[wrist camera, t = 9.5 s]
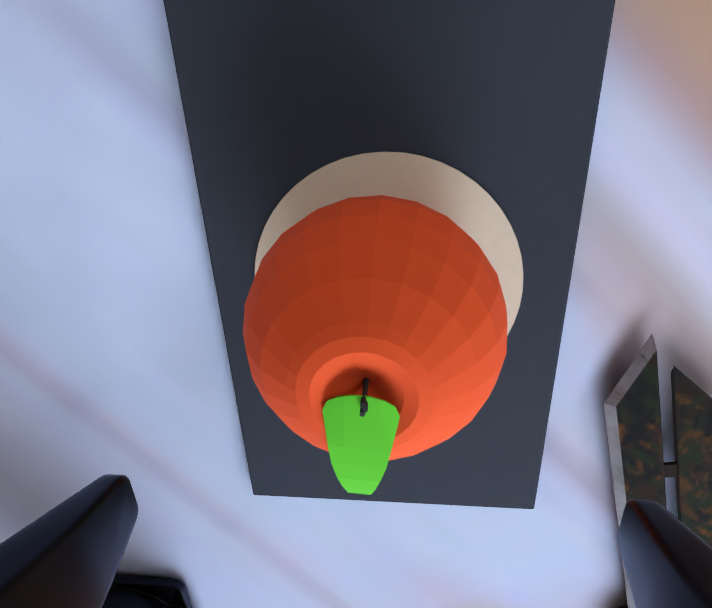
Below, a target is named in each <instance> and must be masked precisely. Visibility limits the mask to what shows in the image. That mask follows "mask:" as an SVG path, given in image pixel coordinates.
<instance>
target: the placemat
mask: <svg viewBox="0 0 712 608" xmlns="http://www.w3.org/2000/svg"><path fill="white" fill-rule="evenodd" d="M614 4H615V0H164V5H165V11H166V16H167V22H168V27H169V33H170V38H171V44H172V49H173V55H174V60H175V66H176V71H177V77H178V82H179V88H180V93H181V99H182V104H183V110H184V115H185V121H186V126H187V132H188V137H189V143H190V148H191V154H192V159H193V165H194V170H195V176H196V181H197V187H198V192H199V198H200V203H201V209H202V214H203V220H204V225H205V231H206V236H207V242H208V247H209V253H210V258H211V264H212V269H213V275H214V280H215V286H216V291H217V297H218V302H219V308H220V313H221V319H222V324H223V330H224V335H225V341H226V346H227V352H228V357H229V363H230V368H231V373H232V379H233V384H234V390H235V395H236V401H237V406H238V412H239V417H240V423H241V428H242V434H243V439H244V445H245V450H246V456H247V461H248V467H249V472H250V478H251V483H252V489H253V494H254V495H269V496H288V497H307V498H327V499H346V500H366V501H385V502H404V503H424V504H443V505H463V506H482V507H501V508H521V509H534V505H535V498H536V492H537V486H538V480H539V473H540V467H541V461H542V455H543V448H544V442H545V436H546V430H547V423H548V417H549V411H550V405H551V398H552V392H553V386H554V380H555V373H556V367H557V361H558V355H559V348H560V342H561V336H562V330H563V323H564V317H565V311H566V305H567V298H568V292H569V286H570V280H571V273H572V267H573V261H574V255H575V248H576V242H577V236H578V230H579V223H580V217H581V211H582V205H583V198H584V192H585V186H586V180H587V173H588V167H589V161H590V155H591V148H592V142H593V136H594V130H595V123H596V117H597V111H598V105H599V98H600V92H601V86H602V80H603V73H604V67H605V61H606V55H607V48H608V42H609V36H610V29H611V23H612V17H613V11H614ZM377 195H385V196H390V197H396V198H401V199H406V200H412V201H417V202H419V203H421V204H423V205H425V206H427V207H429V208H431V209H433V210H435V211H437V212H440V213H442V214H444V215H446V216H447V217H449V218H450V219H451V220H452V221H453V222H454V223H455V224H457V225H458V226H459V227H460V228H461V229H462V230H463V231H465V232H466V233H467V234H468V235H469V236H470V237H471V238H472V239H473V240H474V241H475V242H476V243H477V244H478V245H479V246H480V248H481V249H482V251H483V253H484V254H485V256H486V257H487V259H488V260H489V262H490V264H491V265H492V267H493V268H494V270H495V271H496V273H497V274H498V278H499V282H500V285H501V289H502V292H503V296H504V300H505V303H506V309H507V322H508V324H507V352H506V357H505V359H504V362H503V365H502V368H501V371H500V373H499V376H498V379H497V382H496V384H495V386H494V388H493V390H492V392H491V394H490V396H489V397H488V399H487V400H486V402H485V403H484V405H483V406H482V407H481V409H480V410H479V411H478V413H477V414H476V415H475V417H474V418H473V420H472V421H471V422H470V423H468V424H467V425H466V426H464V427H463V428H462V429H461V430H459V431H458V432H457V433H456V434H454V435H453V436H452V437H451V438H449V439H448V440H446V441H444V442H442V443H440V444H438V445H435V446H433V447H431V448H429V449H427V450H424V451H422V452H420V453H418V454H416V455H413V456H409V457H404V458H399V459H394V460H390V461H388V464H387V468H386V470H385V472H384V475H383V477H382V479H381V481H380V483H379V484H378V486H377V488H376V489H375V491H374V492H373V493H372V494H371V495H368V494H358V493H348V492H347V491H346V490H345V489H344V488H343V486H342V485H341V483H340V482H339V480H338V478H337V476H336V474H335V471H334V469H333V466H332V464H331V459H330V454H329V452H327V451H325V450H323V449H320V448H318V447H315V446H313V445H312V444H310V443H309V442H307V441H306V440H305V439H303V438H302V437H300V436H299V435H297V434H296V433H294V432H293V431H292V430H291V429H290V428H289V427H288V426H287V425H286V424H285V423H284V422H283V421H282V420H281V419H280V418H279V417H278V416H277V414H276V413H275V412H274V411H273V410H272V409H271V408H270V407H269V406H268V405H267V404H266V402H265V401H264V399H263V397H262V395H261V393H260V391H259V390H258V388H257V386H256V384H255V382H254V380H253V378H252V375H251V370H250V366H249V361H248V357H247V353H246V348H245V342H244V337H243V324H244V309H245V302H246V299H247V296H248V294H249V291H250V289H251V286H252V283H253V281H254V278H255V276H256V273H257V270H258V268H259V265H260V263H261V260H262V258H263V257H264V256H265V254H266V253H267V252H268V251H269V249H270V248H271V247H272V245H273V244H274V243H275V242H276V240H277V239H278V238H279V237H280V235H281V234H282V233H283V232H285V231H286V230H288V229H289V228H290V227H292V226H293V225H295V224H296V223H298V222H299V221H300V220H302V219H303V218H305V217H306V216H307V215H309V214H310V213H312V212H314V211H315V210H317V209H319V208H321V207H324V206H327V205H330V204H333V203H335V202H338V201H341V200H344V199H347V198H351V197H364V196H377Z"/></svg>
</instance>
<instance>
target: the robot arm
mask: <svg viewBox="0 0 712 608" xmlns="http://www.w3.org/2000/svg"><path fill="white" fill-rule="evenodd" d="M137 515H138V505H137V502H136V498H135V495H134V492H133V489H132V486H131V483H130V480H129V478H128V477H126V476H125V475H113V474H107V475H103V476H101V477H100V478H98V479H97V480H95V481H94V482H92V483H91V484H89V485H88V486H86V487H85V488H83V489H82V490H80V491H79V492H77V493H76V494H74V495H73V496H71V497H70V498H68V499H67V500H65V501H64V502H62V503H61V504H59V505H58V506H56V507H55V508H53V509H52V510H50V511H49V512H47V513H46V514H44V515H43V516H41V517H40V518H38V519H37V520H35V521H34V522H32V523H31V524H29V525H28V526H26V527H25V528H23V529H22V530H20V531H19V532H17V533H16V534H14V535H13V536H11V537H10V538H8V539H7V540H5V541H4V542H3V543H1V544H0V608H192V606H191V602H190V599H189V596H188V592H187V589H186V586H185V584H184V583H183V582H182V581H180V580H176V579H165V578H152V577H138V576H124V575H115V574H116V571H117V569H118V566H119V563H120V561H121V558H122V555H123V553H124V550H125V548H126V545H127V542H128V540H129V537H130V535H131V532H132V529H133V527H134V524H135V522H136V519H137ZM618 543H619V548H620V552H621V555H622V559H623V563H624V566H625V570H626V574H627V577H628V581H629V585H630V588H631V592H632V595H633V599H634V603H635V606H636V608H712V548H711V547H710V546H709V545H708V544H707V543H706V542H704V541H703V540H702V539H701V538H700V537H698V536H697V535H696V534H695V533H694V532H692V531H691V530H690V529H689V528H688V527H687V526H685V525H684V524H683V523H682V522H681V521H679V520H678V519H677V518H676V517H675V516H674V515H672V514H671V513H670V512H669V511H668V510H666V509H665V508H664V507H663V506H662V505H660V504H659V503H658V502H656V501H654V500H647V499H630V500H628V501H627V502H626V505H625V508H624V512H623V516H622V519H621V523H620V527H619V531H618Z"/></svg>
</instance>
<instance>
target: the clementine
mask: <svg viewBox="0 0 712 608" xmlns="http://www.w3.org/2000/svg"><path fill="white" fill-rule="evenodd" d="M507 324H508V322H507V309H506V303H505V300H504V296H503V292H502V289H501V285H500V282H499V278H498V274H497V273H496V271H495V270H494V268H493V267H492V265H491V264H490V262H489V260H488V259H487V257H486V256H485V254H484V253H483V251H482V249H481V248H480V246H479V245H478V244H477V243H476V242H475V241H474V240H473V239H472V238H471V237H470V236H469V235H468V234H467V233H466V232H465V231H463V230H462V229H461V228H460V227H459V226H458V225H457V224H455V223H454V222H453V221H452V220H451V219H450V218H449V217H447V216H446V215H444V214H442V213H440V212H437V211H435V210H433V209H431V208H429V207H427V206H425V205H423V204H421V203H419V202H417V201H412V200H406V199H401V198H396V197H390V196H385V195H377V196H364V197H351V198H347V199H344V200H341V201H338V202H335V203H333V204H330V205H327V206H324V207H321V208H319V209H317V210H315V211H314V212H312V213H310V214H309V215H307V216H306V217H305V218H303V219H302V220H300V221H299V222H298V223H296V224H295V225H293V226H292V227H290V228H289V229H288V230H286V231H285V232H283V233H282V234H281V235H280V237H279V238H278V239H277V240H276V242H275V243H274V244H273V245H272V247H271V248H270V249H269V251H268V252H267V253H266V254H265V256H264V257H263V258H262V260H261V263H260V265H259V268H258V270H257V273H256V276H255V278H254V281H253V283H252V286H251V289H250V291H249V294H248V296H247V299H246V302H245V309H244V324H243V337H244V342H245V348H246V353H247V357H248V361H249V366H250V370H251V375H252V378H253V380H254V382H255V384H256V386H257V388H258V390H259V391H260V393H261V395H262V397H263V399H264V401H265V402H266V404H267V405H268V406H269V407H270V408H271V409H272V410H273V411H274V412H275V413H276V414H277V416H278V417H279V418H280V419H281V420H282V421H283V422H284V423H285V424H286V425H287V426H288V427H289V428H290V429H291V430H292V431H293V432H294V433H296V434H297V435H299V436H300V437H302V438H303V439H305V440H306V441H307V442H309V443H310V444H312V445H313V446H315V447H318V448H320V449H323V450H325V451H327V452H329V454H330V459H331V464H332V466H333V469H334V471H335V474H336V476H337V478H338V480H339V482H340V483H341V485H342V486H343V488H344V489H345V490H346V491H347V492H348V493H358V494H368V495H371V494H372V493H373V492H374V491H375V489H376V488H377V486H378V484H379V483H380V481H381V479H382V477H383V475H384V472H385V470H386V468H387V464H388V461H390V460H394V459H399V458H404V457H409V456H413V455H416V454H418V453H420V452H422V451H424V450H427V449H429V448H431V447H433V446H435V445H438V444H440V443H442V442H444V441H446V440H448V439H449V438H451V437H452V436H453V435H454V434H456V433H457V432H458V431H459V430H461V429H462V428H463V427H464V426H466V425H467V424H468V423H470V422H471V421H472V420H473V418H474V417H475V415H476V414H477V413H478V411H479V410H480V409H481V407H482V406H483V405H484V403H485V402H486V400H487V399H488V397H489V396H490V394H491V392H492V390H493V388H494V386H495V384H496V382H497V379H498V376H499V373H500V371H501V368H502V365H503V362H504V359H505V357H506V352H507Z"/></svg>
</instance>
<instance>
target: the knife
mask: <svg viewBox="0 0 712 608" xmlns="http://www.w3.org/2000/svg"><path fill="white" fill-rule="evenodd" d="M671 387H672V407H673V427H674V447H675V462H666V463H664V461H663V445H662V429H661V413H660V397H659V381H658V365H657V350H656V346H655V343H654V339H653V336H652V335H651V336H650V337H649V339H648V340H647V342H646V343H645V345H644V346H643V347H642V349H641V350H640V352H639V353H638V355H637V356H636V358H635V359H634V360H633V362H632V363H631V365H630V366H629V368H628V369H627V370H626V372H625V373H624V375H623V376H622V378H621V379H620V380H619V382H618V383H617V385H616V386H615V388H614V389H613V390H612V392H611V393H610V395H609V396H608V398H607V399H606V400H605V402H604V403H603V404H604V412H605V420H606V429H607V437H608V445H609V454H610V462H611V470H612V479H613V487H614V495H615V504H616V512H617V520H618V529H619V527H620V523H621V519H622V516H623V512H624V508H625V505H626V502H627V501H628V500H630V499H647V500H654V501H656V502H658V503H659V504H660V505H662V506H663V507H664V508H665V509H666V493H665V478H667V477H676V487H677V507H678V520H679V521H681V522H682V523H683V524H684V525H685V526H687V527H688V528H689V529H690V530H691V531H692V532H694V533H695V534H696V535H697V536H698V537H700V538H701V539H702V540H703V541H704V542H706V543H707V544H708V545H709V546H710V547H711V548H712V398H711V397H710V396H709V395H707V394H706V393H705V392H704V391H703V390H702V389H700V388H699V387H698V386H697V385H696V384H695V383H694V382H692V381H691V380H690V379H689V378H688V377H687V376H685V375H684V374H683V373H682V372H681V371H680V370H678V369H677V368H676V367H675V366H674V367H673V369H672V371H671ZM666 510H667V509H666ZM622 562H623V559H622ZM623 570H624V578H625V587H626V595H627V603H628V606H623V607H620V608H636V606H635V603H634V599H633V595H632V592H631V588H630V585H629V581H628V577H627V574H626V570H625V566H624V563H623Z"/></svg>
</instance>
